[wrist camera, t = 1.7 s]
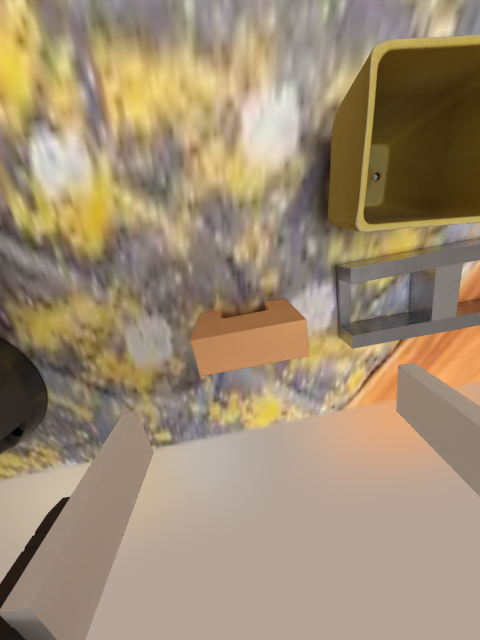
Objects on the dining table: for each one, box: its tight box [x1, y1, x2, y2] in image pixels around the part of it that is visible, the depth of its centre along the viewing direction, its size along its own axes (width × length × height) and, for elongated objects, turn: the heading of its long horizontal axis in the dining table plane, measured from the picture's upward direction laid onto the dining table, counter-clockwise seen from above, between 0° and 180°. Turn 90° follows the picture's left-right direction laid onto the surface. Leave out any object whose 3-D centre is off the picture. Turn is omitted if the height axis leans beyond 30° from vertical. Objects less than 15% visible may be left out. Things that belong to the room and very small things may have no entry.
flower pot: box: [328, 35, 480, 232], centre depth 17 cm, size 9×9×9 cm
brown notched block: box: [191, 298, 309, 376], centre depth 22 cm, size 9×3×7 cm, turn 100°
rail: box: [336, 238, 480, 348], centre depth 23 cm, size 18×8×3 cm, turn 100°
